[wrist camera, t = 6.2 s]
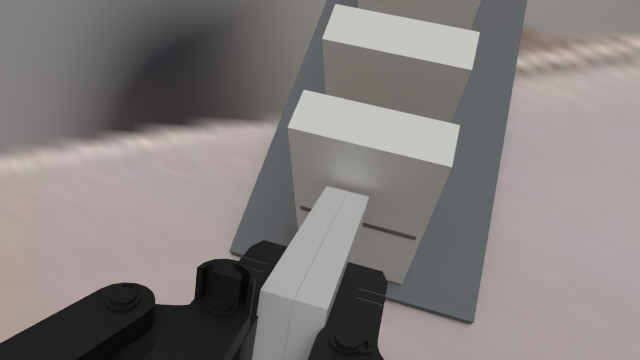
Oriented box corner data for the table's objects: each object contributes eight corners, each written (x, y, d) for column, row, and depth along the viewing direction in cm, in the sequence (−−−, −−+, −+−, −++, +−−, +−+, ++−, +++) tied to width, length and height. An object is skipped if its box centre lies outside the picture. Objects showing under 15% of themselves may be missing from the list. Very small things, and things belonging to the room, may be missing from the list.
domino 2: (423, 192, 24) (471, 70, 15) (329, 168, 25) (322, 39, 16) (429, 164, 25) (479, 31, 16) (338, 142, 25) (335, 3, 16)
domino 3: (401, 284, 22) (452, 167, 13) (300, 255, 23) (287, 127, 14) (408, 253, 23) (460, 124, 14) (310, 226, 24) (304, 89, 15)
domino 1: (441, 112, 26) (494, -39, 17) (354, 92, 27) (360, -62, 18) (447, 88, 27) (501, -70, 18) (361, 69, 27) (371, -91, 18)
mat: (470, 324, 22) (473, 322, 21) (232, 253, 24) (229, 250, 23) (530, -37, 31) (534, -45, 31) (355, -66, 33) (355, -74, 32)
